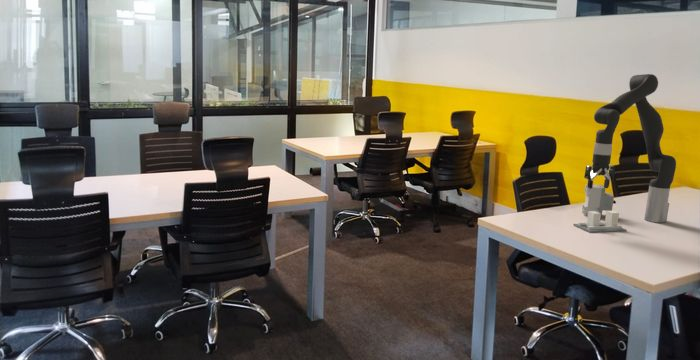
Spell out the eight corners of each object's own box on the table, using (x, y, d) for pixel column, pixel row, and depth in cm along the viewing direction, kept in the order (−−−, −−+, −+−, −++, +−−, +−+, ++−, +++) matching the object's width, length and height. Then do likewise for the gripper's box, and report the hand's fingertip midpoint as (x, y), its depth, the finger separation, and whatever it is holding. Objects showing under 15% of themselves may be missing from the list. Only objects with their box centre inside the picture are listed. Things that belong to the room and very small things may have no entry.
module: (591, 225, 286) (593, 210, 285) (598, 228, 282) (600, 213, 280) (585, 225, 285) (587, 210, 284) (592, 228, 281) (594, 213, 279)
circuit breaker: (614, 218, 305) (618, 189, 302) (584, 215, 307) (588, 186, 304) (611, 215, 312) (615, 186, 309) (581, 212, 314) (585, 183, 311)
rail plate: (609, 224, 293) (611, 208, 291) (626, 231, 282) (628, 215, 280) (573, 225, 287) (575, 209, 286) (589, 232, 276) (591, 216, 274)
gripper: (610, 151, 282) (605, 186, 285) (583, 151, 278) (579, 186, 281) (621, 154, 275) (616, 189, 278) (594, 154, 271) (589, 190, 274)
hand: (597, 188), depth 279 cm, fingers open, 8 cm apart
